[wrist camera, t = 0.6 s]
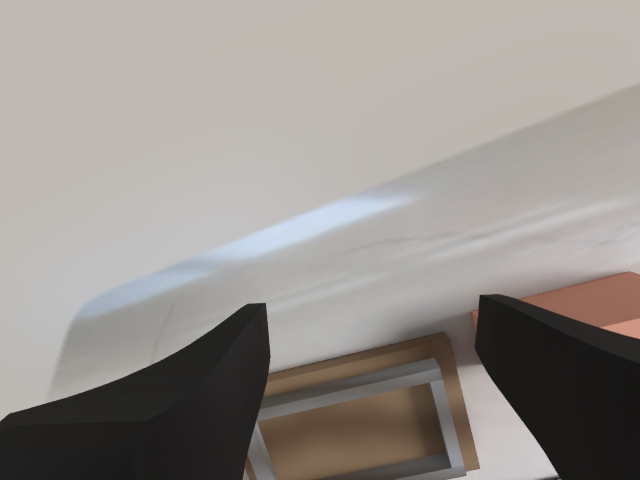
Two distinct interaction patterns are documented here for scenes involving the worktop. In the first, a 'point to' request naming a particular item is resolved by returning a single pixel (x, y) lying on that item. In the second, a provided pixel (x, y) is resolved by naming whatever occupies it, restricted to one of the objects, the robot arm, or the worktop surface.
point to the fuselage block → (596, 303)
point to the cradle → (366, 418)
